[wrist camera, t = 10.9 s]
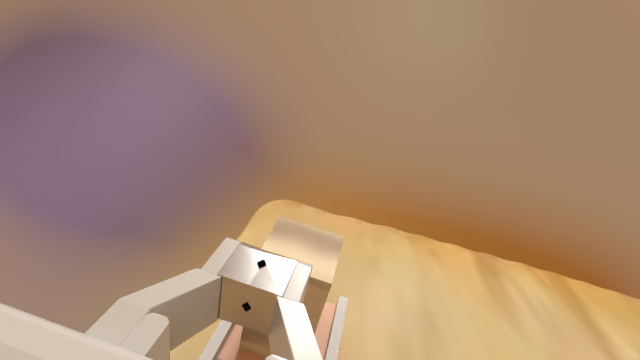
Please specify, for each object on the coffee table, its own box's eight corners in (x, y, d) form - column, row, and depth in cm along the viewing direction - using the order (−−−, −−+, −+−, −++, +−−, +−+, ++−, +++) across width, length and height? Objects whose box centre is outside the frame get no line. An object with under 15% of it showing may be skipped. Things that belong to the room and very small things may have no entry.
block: (301, 371, 30) (331, 283, 24) (238, 348, 30) (255, 258, 25) (316, 318, 35) (343, 236, 30) (262, 299, 35) (280, 216, 30)
